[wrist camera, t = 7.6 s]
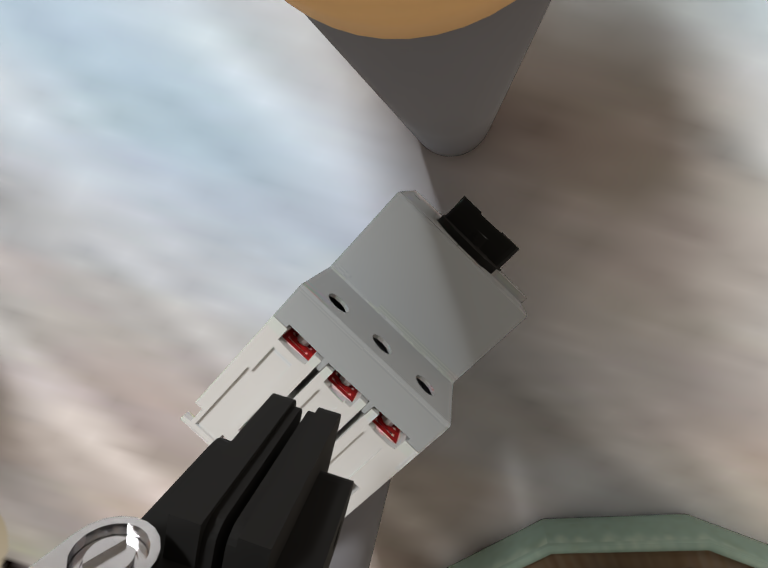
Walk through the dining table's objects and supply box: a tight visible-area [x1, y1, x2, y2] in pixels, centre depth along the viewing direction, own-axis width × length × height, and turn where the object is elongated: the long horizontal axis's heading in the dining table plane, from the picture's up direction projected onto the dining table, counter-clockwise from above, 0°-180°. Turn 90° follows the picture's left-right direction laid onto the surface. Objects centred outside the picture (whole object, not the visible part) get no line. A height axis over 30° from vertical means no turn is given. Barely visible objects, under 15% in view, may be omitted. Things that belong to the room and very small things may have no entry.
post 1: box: [329, 478, 391, 568], centre depth 22 cm, size 5×5×25 cm
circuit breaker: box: [181, 191, 527, 517], centre depth 24 cm, size 8×14×15 cm, turn 137°
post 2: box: [285, 0, 551, 156], centre depth 16 cm, size 5×5×25 cm
